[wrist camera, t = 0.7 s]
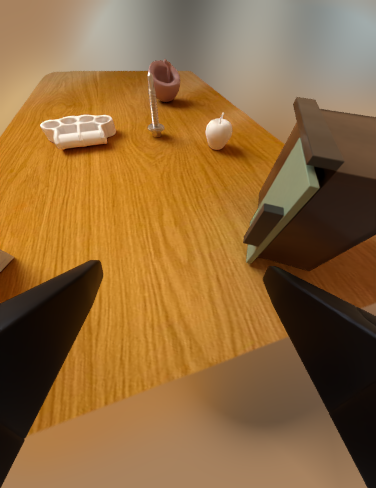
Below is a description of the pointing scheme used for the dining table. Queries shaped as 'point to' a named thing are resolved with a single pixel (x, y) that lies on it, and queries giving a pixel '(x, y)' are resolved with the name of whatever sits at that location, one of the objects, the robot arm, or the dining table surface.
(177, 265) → the dining table surface
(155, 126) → the screw
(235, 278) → the dining table surface
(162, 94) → the mortar and pestle
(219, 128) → the apple
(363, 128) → the cupboard
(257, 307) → the dining table surface
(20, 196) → the dining table surface
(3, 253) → the small box
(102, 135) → the white brass knuckles
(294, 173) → the sliding door
